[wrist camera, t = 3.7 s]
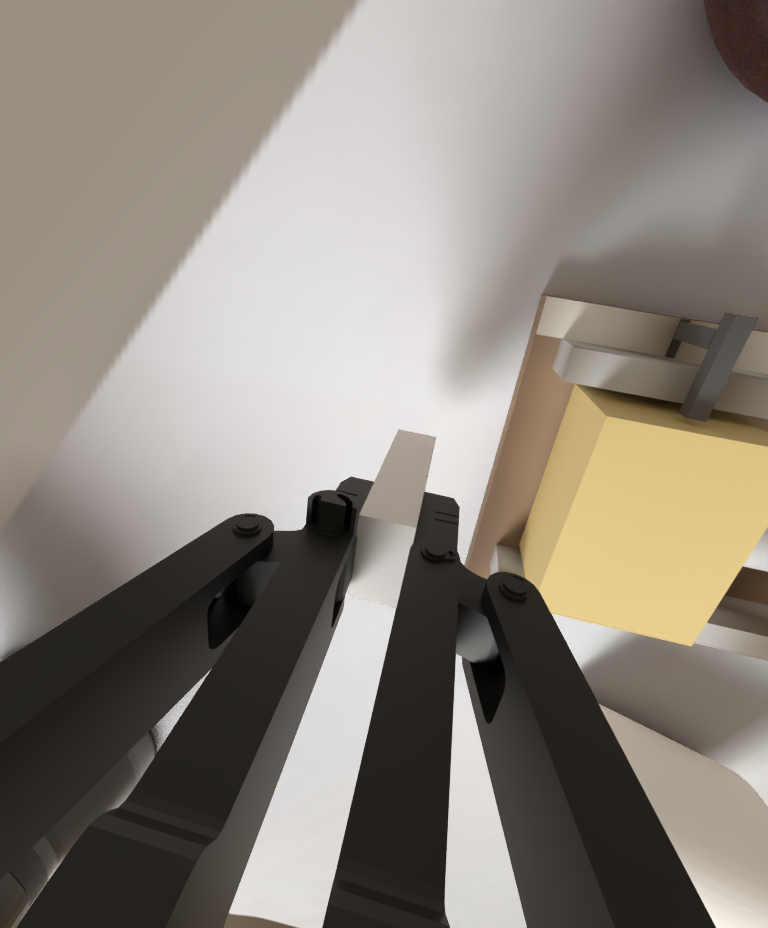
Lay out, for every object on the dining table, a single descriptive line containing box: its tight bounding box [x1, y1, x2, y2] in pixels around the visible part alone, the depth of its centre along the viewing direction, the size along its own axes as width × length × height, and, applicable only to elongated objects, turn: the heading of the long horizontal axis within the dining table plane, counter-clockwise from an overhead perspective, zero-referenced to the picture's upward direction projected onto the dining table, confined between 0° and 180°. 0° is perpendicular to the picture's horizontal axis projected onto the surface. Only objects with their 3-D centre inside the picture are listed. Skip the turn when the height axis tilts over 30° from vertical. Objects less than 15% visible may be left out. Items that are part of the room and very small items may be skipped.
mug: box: [599, 704, 768, 928], centre depth 24 cm, size 12×10×8 cm
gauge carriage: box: [519, 313, 768, 647], centre depth 16 cm, size 9×11×4 cm
